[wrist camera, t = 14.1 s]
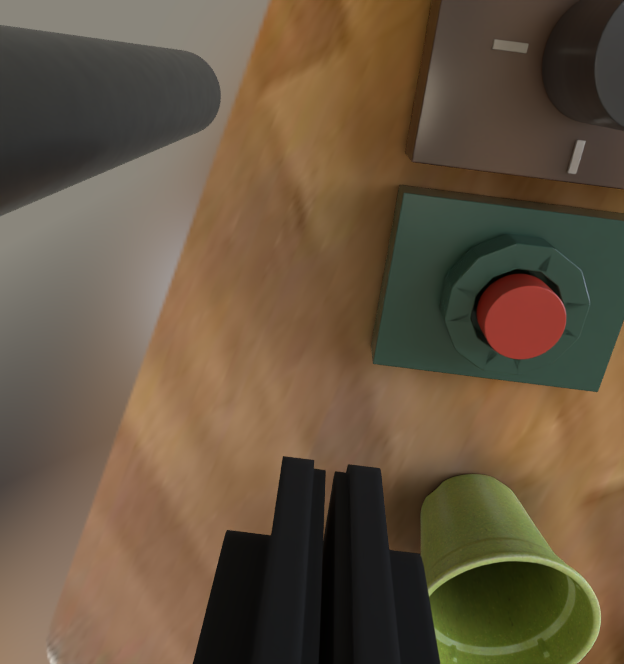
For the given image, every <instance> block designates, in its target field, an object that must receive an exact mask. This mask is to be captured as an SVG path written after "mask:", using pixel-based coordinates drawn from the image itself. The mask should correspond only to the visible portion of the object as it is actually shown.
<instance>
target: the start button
mask: <svg viewBox="0 0 624 664" xmlns="http://www.w3.org/2000/svg"><path fill="white" fill-rule="evenodd" d="M476 315H477V321H478V324H479V326H480V328H481V330H482V332H483V334H484V336H485V337H486V339H487V341H488V343H489V344H490V346H491V347H492V348H493V349H494V350H495V351H496V352H498V353H499V354H501V355H503V356H505V357H508V358H512V359H529V358H533V357H536V356H539V355H541V354H543V353H545V352H546V351H548V350H549V349H551V348H552V347H553V346H554V345H555V344H556V343H557V342H558V340H559V339H560V337H561V335H562V334H563V331H564V329H565V325H566V311H565V307H564V305H563V303H562V301H561V300H560V298H559V297H558V296H557V295H556V294H555V293H554V292H553V291H552V290H551V289H550V288H549V287H548V286H547V285H546V284H545V283H544V282H543V281H542V280H540V279H539V278H537V277H535V276H532V275H528V274H511V275H507V276H504V277H502V278H500V279H498V280H496V281H495V282H493V283H492V284H491V285H490V286H489V287H487V289H486V290H485V291H484V292H483V294H482V295H481V297H480V299H479V302H478V305H477V313H476Z"/></svg>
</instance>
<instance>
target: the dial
mask: <svg viewBox="0 0 624 664" xmlns="http://www.w3.org/2000/svg"><path fill="white" fill-rule="evenodd" d="M542 77H543V83H544V87H545V90H546V92H547V95H548V97H549V99H550V100H551V102H552V103H553V105H554V106H555V107H556V108H557V109H558V110H559V111H560V112H561V113H563V114H564V115H565V116H567V117H569V118H571V119H573V120H575V121H578V122H583V123H587V124H592V125H597V126H602V127H607V128H612V129H616V130H621V131H624V0H580V1H579V2H577V3H576V4H574V5H573V6H572V7H571V8H570V9H569V10H568V11H567V12H566V13H565V14H564V15H563V16H562V17H561V19H560V20H559V21H558V23H557V24H556V25H555V27H554V29H553V31H552V32H551V34H550V37H549V39H548V41H547V44H546V47H545V50H544V55H543V62H542Z"/></svg>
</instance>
